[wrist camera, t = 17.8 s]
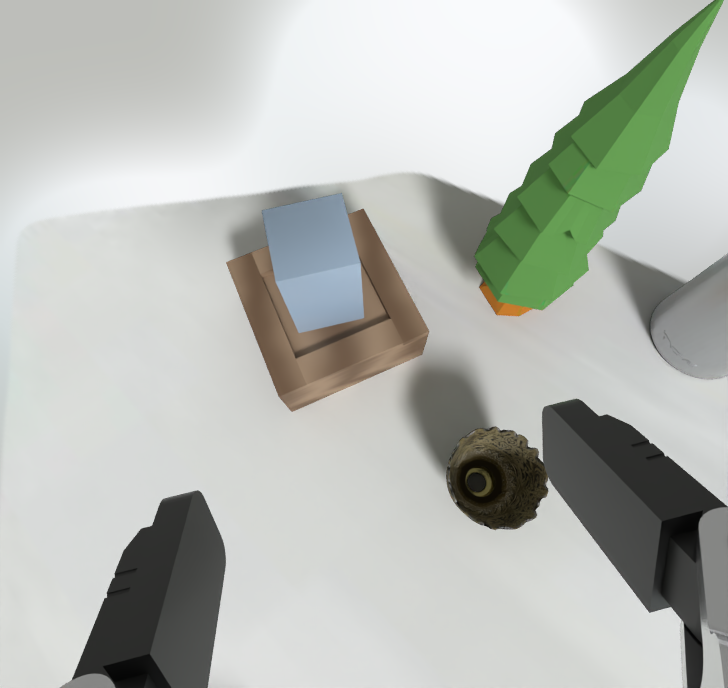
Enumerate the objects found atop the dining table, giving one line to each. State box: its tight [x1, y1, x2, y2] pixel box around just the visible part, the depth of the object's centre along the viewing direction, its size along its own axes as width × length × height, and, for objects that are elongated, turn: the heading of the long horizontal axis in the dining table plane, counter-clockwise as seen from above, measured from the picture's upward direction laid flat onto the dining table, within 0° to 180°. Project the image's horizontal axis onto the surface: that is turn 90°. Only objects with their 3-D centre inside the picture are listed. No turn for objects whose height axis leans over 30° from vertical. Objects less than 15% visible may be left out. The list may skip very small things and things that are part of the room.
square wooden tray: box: [226, 209, 429, 412], centre depth 45 cm, size 14×14×7 cm
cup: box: [446, 427, 548, 530], centre depth 38 cm, size 8×7×8 cm
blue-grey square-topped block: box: [262, 193, 364, 333], centre depth 38 cm, size 6×6×10 cm
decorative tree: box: [474, 0, 724, 316], centre depth 34 cm, size 10×9×30 cm
